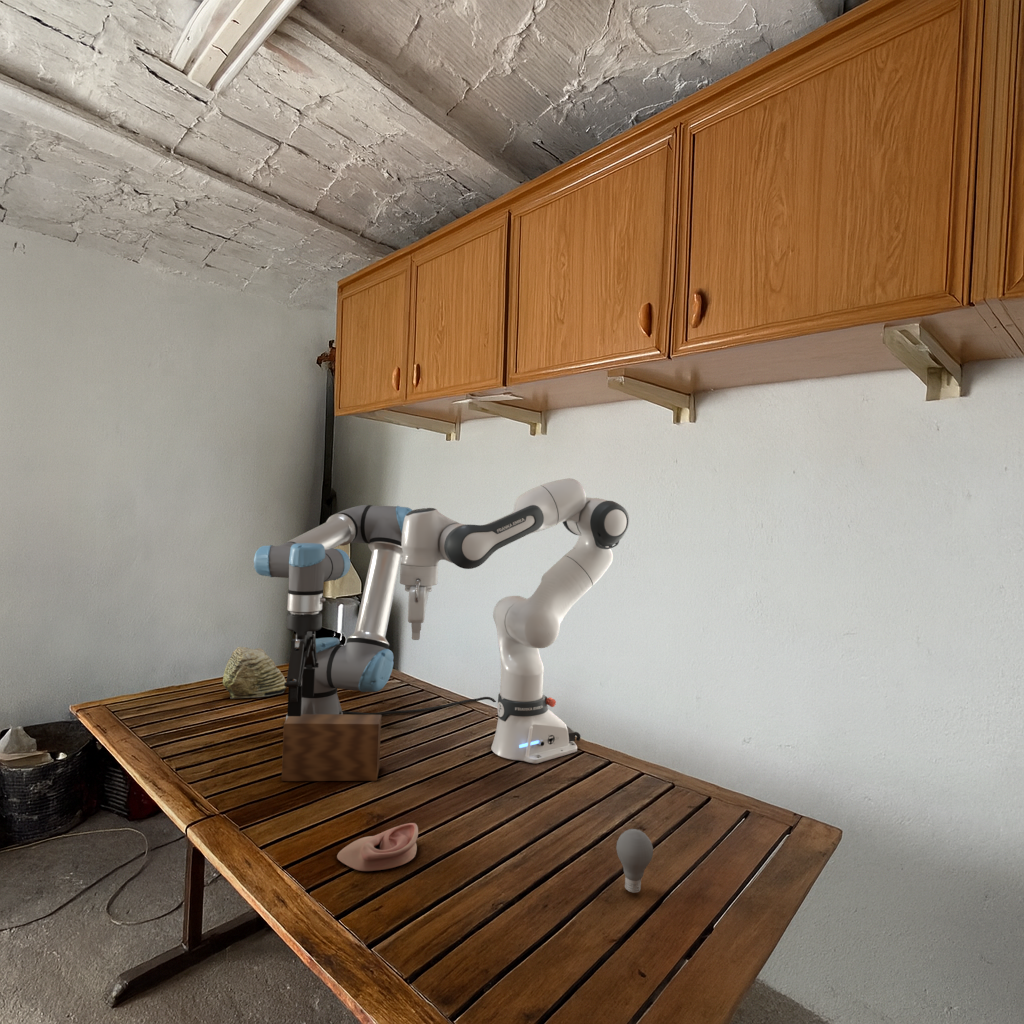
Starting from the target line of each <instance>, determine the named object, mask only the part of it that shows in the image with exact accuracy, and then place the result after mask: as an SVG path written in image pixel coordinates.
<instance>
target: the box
mask: <svg viewBox="0 0 1024 1024" xmlns="http://www.w3.org/2000/svg"><path fill="white" fill-rule="evenodd" d="M282 731H283V735H282V757H281V758H282V760H281V761H282V762H281V782H375V781H377V780H378V777H379V772H380V763H381V762H380V760H381V738H382V737H381V735H382V734H381V733H382V715H350V714H343V715H337V714H301V716H289V717H288V718H287V720H286V719H285V721H284V723H283V730H282Z"/></svg>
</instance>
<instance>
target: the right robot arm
mask: <svg viewBox="0 0 1024 1024" xmlns="http://www.w3.org/2000/svg"><path fill="white" fill-rule="evenodd" d="M561 524H562V525H563V526H564V527H565V529H566V530H567V531H568V532H570V533H571V534H573V535H575V536H578V538H577V541H576V543H575V544H574V546H573V547H572V549H570V550H569V551H567V552H566V553H565V554H564V555H563V556H562V557H561V558H560V559H559V560H558V561H556V562H555V564H553V565H552V566H551V567H550V568H549V569H548V570H547V571H545V573H543V575H541V579H540V582H539V585H538V586H537V588H536V589H535V591H534V592H533V593H532V595H531V596H529V597H528V598H527V597H524V596H522V595H521V596H520V595H508V596H505V597H503V598H501V599H499V600H498V601H497V602H496V604H495V606H494V608H493V612H492V613H493V614H492V617H493V618H492V619H493V621H494V624H495V628H496V634H497V643H498V650H499V658H500V659H499V660H500V683H499V684H500V685H499V693H498V695H497V696H498V697H497V709H496V710H497V722H496V729H495V733H494V737H493V741H492V744H491V747H490V748H491V751H492V752H493V753H494V754H495V755H496V756H498V757H501V758H503V759H507V760H513V761H521V762H526V763H530V764H539V763H543V762H547V761H551V760H553V759H557V758H560V757H563V756H567V755H570V754H573V753H576V752H578V745H577V744H576V742H575V741H577V742H580V741H581V733H579V732H577V731H574V730H573V729H572V728H570V727H569V726H568V725H567V724H566V723H565V722H564V721H563V720H562V719H561V718H560V717H559V716H557V714H555V713H554V712H553V711H552V710H550V709H549V707H551V708H554V707H555V706H556V705H557V700H556V699H554V698H552V697H551V696H550V697H548V696H546V695H545V694H544V673H545V667H544V663H543V660H542V656H541V653H540V649H545V648H548V647H550V646H551V645H553V644H554V643H555V642H556V641H557V638H558V637H559V634H560V629H561V627H560V626H561V624H562V623H563V620H564V619H565V617H566V616H567V615H568V613H569V611H570V610H571V609H572V608H573V606H574V605H575V604H576V603H577V602H578V601H579V600H580V599H581V598H582V597H583V596H584V595H585V594H586V593H587V592H588V591H589V590H590V589H591V588H592V587H593V586H594V585H596V584H597V582H599V581H600V579H601V578H602V577H603V576H604V574H605V573H606V572H607V571H608V569H609V568H610V566H611V565H612V563H613V560H614V555H613V551H612V549H614V548H615V547H617V546H618V545H619V543H620V541H621V540H622V539H623V537H624V536H625V534H626V532H627V531H628V528H629V524H630V515H629V512H628V510H627V509H626V508H625V507H624V506H623V505H621V504H620V503H618V502H616V501H613V500H608V499H604V498H600V497H598V498H597V497H588V496H587V493H586V490H585V488H584V486H583V484H581V483H580V482H579V481H578V480H576V479H574V478H562V479H558V480H553V481H550V482H546V483H543V484H540V485H538V486H535V487H533V488H530V489H528V490H527V491H525V492H523V493H522V494H520V495H519V496H517V498H516V499H515V501H514V504H513V511H512V512H511V513H508V514H506V515H504V516H502V517H500V518H497V519H495V520H492V521H491V522H488V523H486V524H465V523H460V522H458V521H456V520H453V519H451V518H449V517H447V516H445V515H444V514H442V513H441V512H440V511H439V510H438V509H437V508H435V507H434V508H433V507H426V508H425V507H424V508H423V507H422V508H417V509H412V511H410V512H408V513H407V514H406V516H405V518H404V522H403V529H402V540H401V546H402V551H403V555H402V558H401V561H400V566H399V584H400V585H403V586H404V591H405V592H407V593H408V602H407V622H408V623H409V624H411V625H410V626H411V639H412V641H419V640H420V638H421V630H422V624H423V623H425V617H426V611H427V604H428V598H429V593H430V592H432V591H433V586H436V585H438V578H439V577H438V576H439V575H438V574H439V562H440V561H443V560H444V561H446V562H449V563H451V564H454V565H455V566H457V567H459V568H461V569H464V570H471V569H476V568H478V567H480V566H482V565H483V564H484V563H485V562H486V561H487V560H488V559H490V557H491V556H492V555H493V554H494V553H495V552H496V551H498V550H500V549H501V548H503V547H505V546H508V545H509V544H511V543H514V542H515V541H518V540H520V539H522V538H524V537H526V536H529V535H531V534H535V533H538V532H542V531H545V530H547V529H550V528H553V527H556V526H558V525H561ZM548 706H549V707H548Z"/></svg>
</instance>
